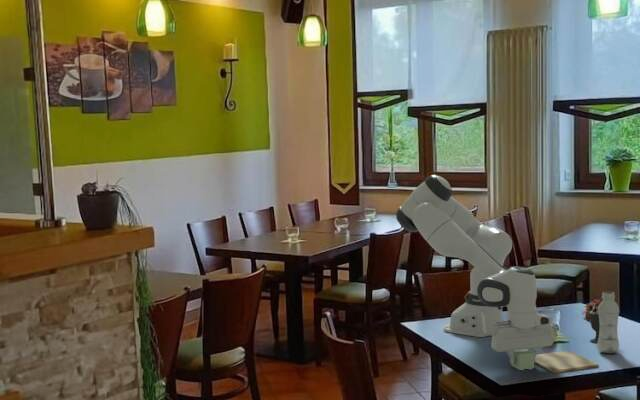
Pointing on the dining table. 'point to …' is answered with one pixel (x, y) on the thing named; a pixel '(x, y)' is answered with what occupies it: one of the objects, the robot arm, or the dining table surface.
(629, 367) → the dining table surface
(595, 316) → the sundae
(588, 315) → the flower
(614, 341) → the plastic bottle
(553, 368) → the tan square board
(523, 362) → the sage block
